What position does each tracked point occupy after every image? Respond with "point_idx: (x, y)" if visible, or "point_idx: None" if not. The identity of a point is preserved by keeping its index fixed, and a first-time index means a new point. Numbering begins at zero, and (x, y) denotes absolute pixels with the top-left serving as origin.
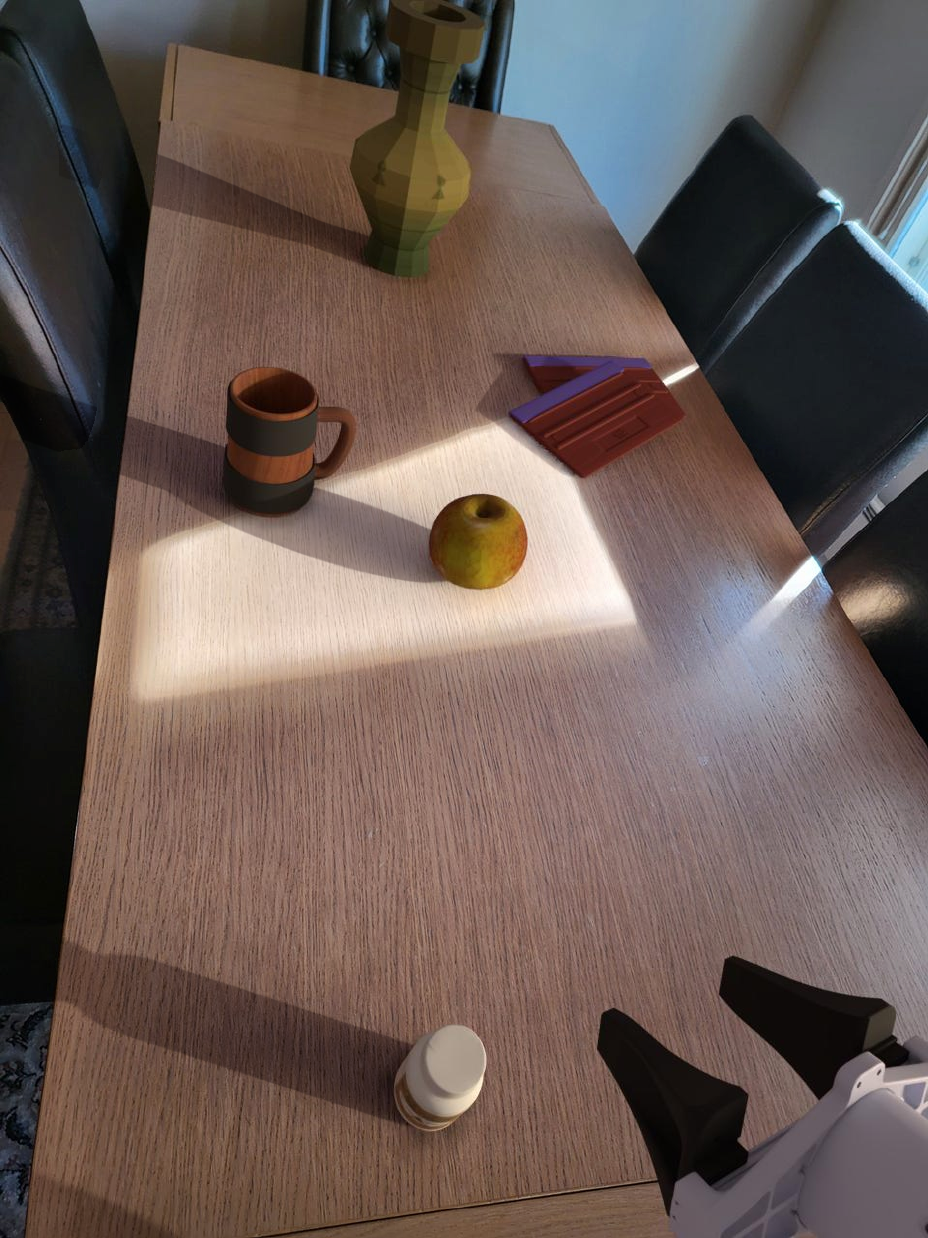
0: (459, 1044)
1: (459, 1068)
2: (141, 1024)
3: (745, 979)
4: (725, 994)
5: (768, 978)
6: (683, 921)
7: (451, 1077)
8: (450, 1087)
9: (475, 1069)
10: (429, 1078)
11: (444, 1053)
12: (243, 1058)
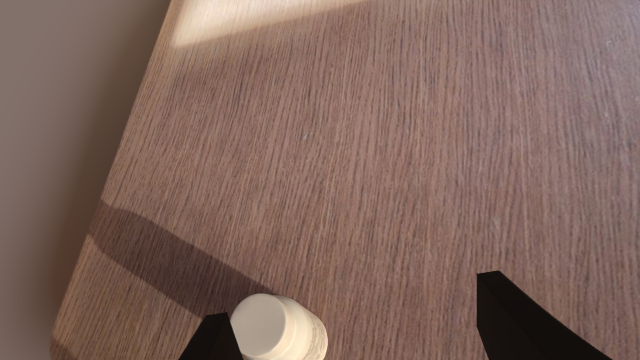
0: (264, 312)
1: (257, 334)
2: (122, 254)
3: (495, 313)
4: (481, 329)
5: (521, 321)
6: (615, 236)
7: (248, 340)
8: (244, 348)
9: (272, 338)
10: None
11: (249, 317)
12: (174, 288)
